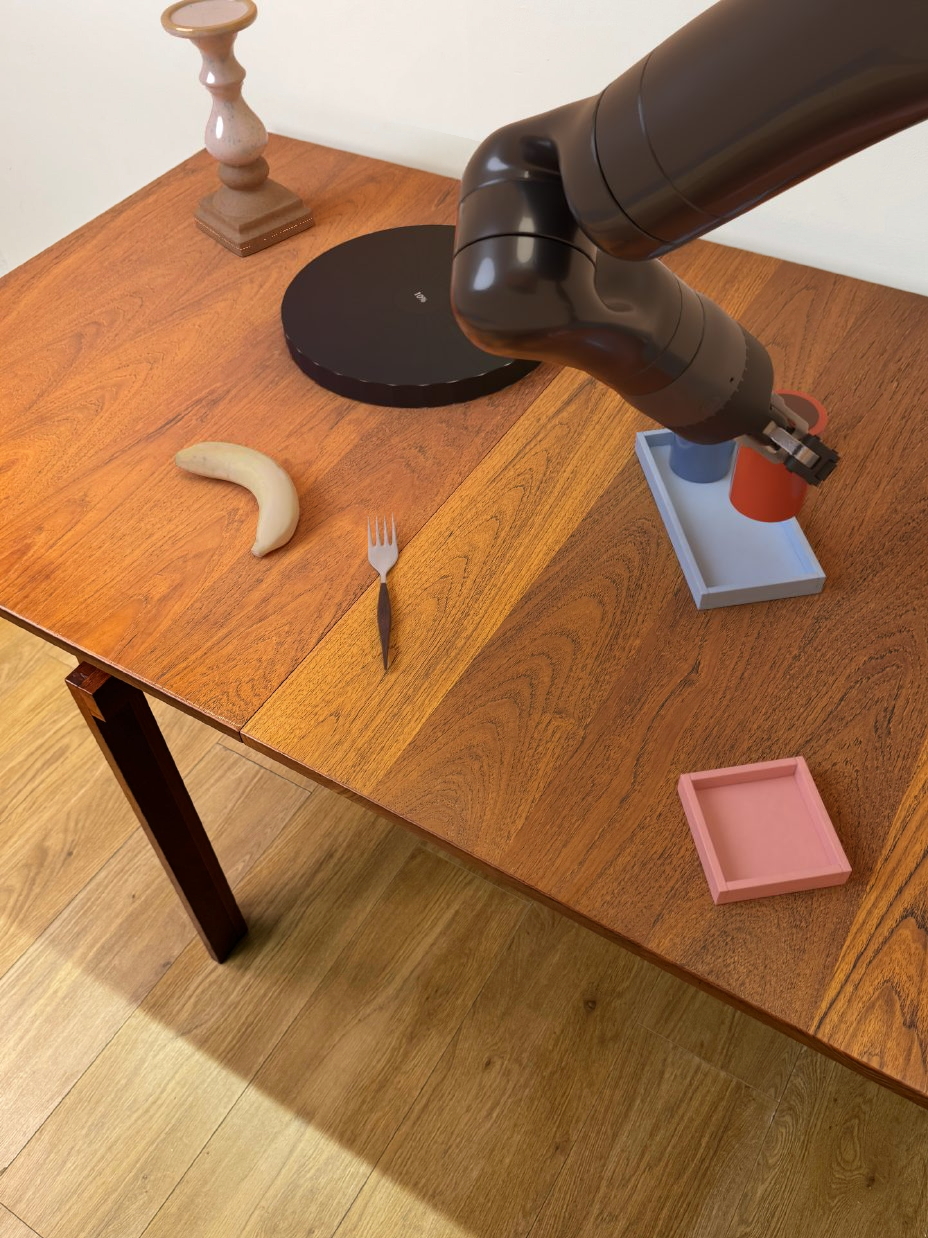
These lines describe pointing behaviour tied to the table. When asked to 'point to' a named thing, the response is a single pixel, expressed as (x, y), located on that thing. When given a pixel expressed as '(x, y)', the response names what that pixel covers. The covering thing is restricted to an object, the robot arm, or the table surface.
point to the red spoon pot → (774, 470)
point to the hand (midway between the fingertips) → (794, 445)
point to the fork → (383, 580)
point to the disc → (389, 323)
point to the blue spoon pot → (700, 460)
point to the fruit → (250, 486)
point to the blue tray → (725, 537)
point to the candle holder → (234, 134)
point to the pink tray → (762, 830)
